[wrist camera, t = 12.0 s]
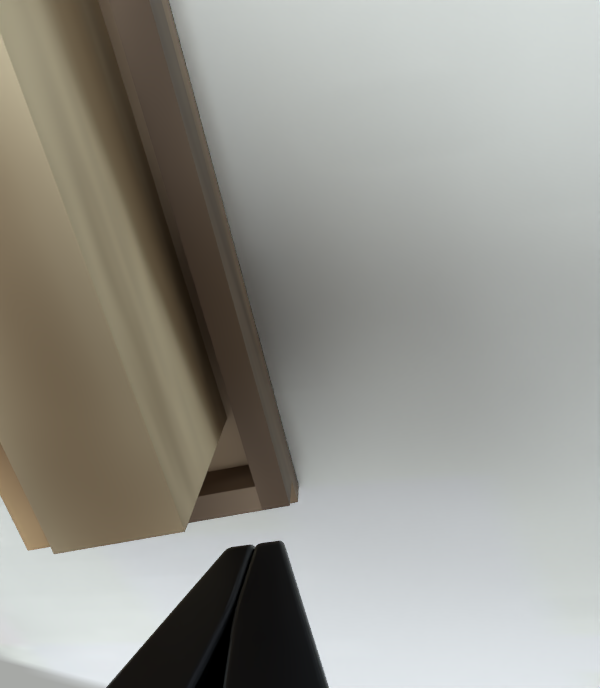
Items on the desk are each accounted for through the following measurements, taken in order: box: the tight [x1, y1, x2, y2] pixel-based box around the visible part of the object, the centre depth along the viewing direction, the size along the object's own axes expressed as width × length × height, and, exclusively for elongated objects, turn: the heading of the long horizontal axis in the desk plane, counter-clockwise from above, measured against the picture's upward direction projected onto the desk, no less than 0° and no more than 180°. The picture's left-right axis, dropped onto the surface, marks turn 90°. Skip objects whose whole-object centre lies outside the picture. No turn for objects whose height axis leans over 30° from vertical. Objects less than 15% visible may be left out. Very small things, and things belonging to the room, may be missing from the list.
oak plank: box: [0, 0, 227, 554], centre depth 13 cm, size 4×14×6 cm, turn 13°
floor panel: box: [0, 0, 299, 550], centre depth 16 cm, size 10×22×2 cm, turn 13°
